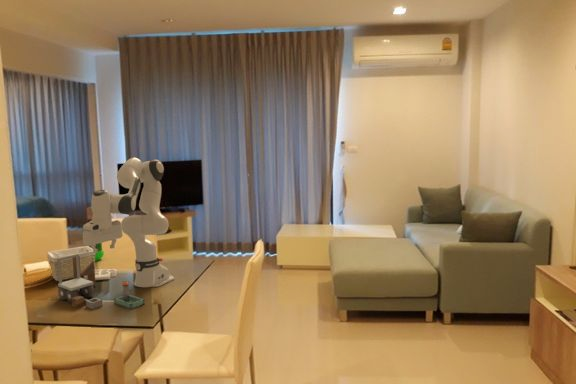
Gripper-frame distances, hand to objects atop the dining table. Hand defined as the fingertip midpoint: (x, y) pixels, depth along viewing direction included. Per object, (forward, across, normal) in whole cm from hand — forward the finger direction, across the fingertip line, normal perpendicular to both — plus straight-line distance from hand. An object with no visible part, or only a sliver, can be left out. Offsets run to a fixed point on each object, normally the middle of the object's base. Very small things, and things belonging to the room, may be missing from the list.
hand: (104, 250), depth 238 cm
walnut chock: (+27, +12, -6) cm, 30 cm away
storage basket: (+28, -14, -54) cm, 63 cm away
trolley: (+27, +6, -10) cm, 29 cm away
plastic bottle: (+29, -41, -71) cm, 87 cm away
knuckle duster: (+28, -21, -37) cm, 51 cm away
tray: (+27, -4, +12) cm, 30 cm away
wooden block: (+28, -6, -29) cm, 40 cm away
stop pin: (+26, -3, +12) cm, 29 cm away
